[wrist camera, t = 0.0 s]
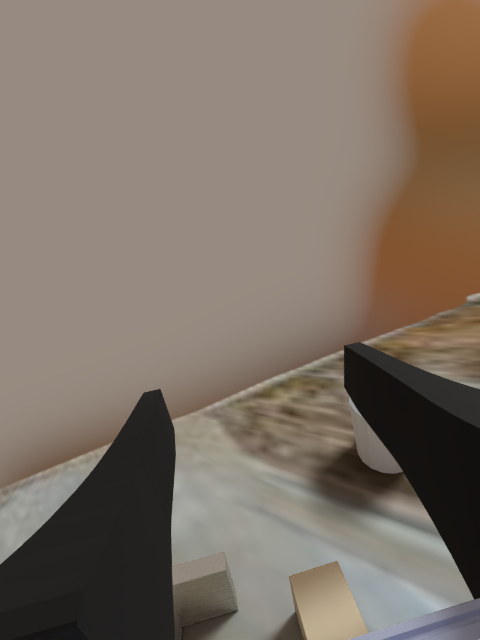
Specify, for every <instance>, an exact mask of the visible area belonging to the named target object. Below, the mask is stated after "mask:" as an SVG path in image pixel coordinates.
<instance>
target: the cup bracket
mask: <svg viewBox="0 0 480 640" xmlns="http://www.w3.org/2000/svg"><path fill="white" fill-rule="evenodd" d="M172 582H173V605H174V625H175V640H182V631H183V627H185V626H188V625H191V624H195V623H198V622H201V621H205V620H208V619H211V618H215V617H218V616H221V615H225V614H228V613H231V612H235V611H238V604H237V596H236V590H235V587H234V583H233V580H232V577H231V573H230V570H229V567H228V563H227V560H226V557H225V553H224V552H222V553H218V554H215V555H211V556H208V557H204V558H200V559H197V560H193V561H190V562H186V563H183V564H179V565H176V566H172Z"/></svg>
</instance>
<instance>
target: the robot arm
mask: <svg viewBox="0 0 480 640" xmlns="http://www.w3.org/2000/svg"><path fill="white" fill-rule="evenodd" d="M344 387H345V389H346V391H347V393H348V394H349V396H350V398H351V400H352V402H353V403H354V405H355V407H356V408H357V410H358V411H359V413H360V414H361V415H362V417H363V418H364V419H365V421H366V422H367V423H368V425H369V426H370V427H371V429H372V430H373V431H374V433H375V434H376V435H377V436H378V438H379V439H380V440H381V442H382V443H383V444H384V446H385V447H386V448H387V450H388V451H389V452H390V454H391V455H392V456H393V458H394V459H395V460H396V462H397V463H398V465H399V466H400V468H401V469H402V471H403V472H404V474H405V476H406V477H407V479H408V481H409V482H410V484H411V485H412V487H413V489H414V490H415V492H416V494H417V495H418V497H419V499H420V500H421V502H422V504H423V505H424V507H425V509H426V511H427V512H428V514H429V516H430V517H431V519H432V521H433V523H434V524H435V526H436V528H437V530H438V532H439V533H440V535H441V537H442V539H443V541H444V542H445V544H446V546H447V548H448V550H449V552H450V553H451V555H452V557H453V559H454V561H455V563H456V565H457V567H458V569H459V571H460V572H461V574H462V576H463V578H464V580H465V582H466V584H467V586H468V588H469V590H470V592H471V594H472V596H473V598H474V600H471V601H468V602H465V603H462V604H459V605H456V606H453V607H449V608H446V609H443V610H440V611H437V612H434V613H430V614H427V615H424V616H421V617H418V618H415V619H412V620H408V621H405V622H402V623H399V624H396V625H393V626H389V627H386V628H383V629H380V630H377V631H374V632H371V633H367V634H364V635H361V636H358V637H355V638H352V639H348V640H480V389H476V388H473V387H470V386H467V385H464V384H460V383H457V382H454V381H451V380H448V379H445V378H443V377H440V376H437V375H435V374H432V373H429V372H427V371H424V370H422V369H419V368H417V367H414V366H412V365H410V364H407V363H405V362H403V361H401V360H398V359H396V358H394V357H392V356H389V355H387V354H385V353H383V352H381V351H378V350H376V349H374V348H372V347H370V346H367V345H365V344H362V343H360V342H358V343H353V344H350V345H345V346H344ZM175 457H176V451H175V433H174V427H173V424H172V421H171V418H170V415H169V412H168V410H167V407H166V404H165V401H164V398H163V395H162V393H161V390H160V389H158V390H153V391H149V392H145V393H143V395H142V396H141V398H140V400H139V401H138V403H137V405H136V406H135V408H134V410H133V411H132V413H131V415H130V416H129V418H128V420H127V421H126V423H125V425H124V426H123V428H122V429H121V431H120V432H119V434H118V436H117V437H116V439H115V440H114V442H113V443H112V444H111V446H110V447H109V449H108V450H107V452H106V453H105V454H104V456H103V457H102V459H101V460H100V461H99V463H98V464H97V465H96V467H95V468H94V469H93V471H92V472H91V473H90V474H89V476H88V477H87V478H86V479H85V480H84V481H83V483H82V484H81V485H80V486H79V487H78V489H77V490H76V491H75V492H74V493H73V494H72V495H71V496H70V497H69V498H68V500H67V501H66V502H65V503H64V504H63V505H62V506H61V507H60V508H59V509H58V510H57V511H56V512H55V513H54V514H53V516H52V517H51V518H50V519H49V520H48V521H47V522H46V523H45V524H44V525H43V526H42V527H41V528H40V529H39V530H37V531H36V532H35V533H34V534H33V535H32V536H31V537H30V538H29V539H28V540H27V541H26V542H25V543H24V544H23V545H22V546H21V547H19V548H18V549H17V550H16V551H15V552H14V553H13V554H12V555H11V556H10V557H8V558H7V559H6V560H5V561H4V562H3V563H2V564H0V640H175V625H174V605H173V582H172V551H171V515H172V501H173V487H174V473H175Z"/></svg>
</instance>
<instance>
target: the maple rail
mask: <svg viewBox="0 0 480 640" xmlns="http://www.w3.org/2000/svg"><path fill="white" fill-rule="evenodd" d="M289 579H290V584H291V590H292V595H293V601H294V606H295V611H296V615H297V618H298V622H299V626H300V629H301V633H302V636H303V640H348V639H352V638H355V637H358V636H361V635H364V634H367V633H368V630H367V628H366V626H365V623H364V621H363V619H362V617H361V614H360V612H359V610H358V607H357V605H356V603H355V601H354V598H353V596H352V594H351V591H350V589H349V587H348V584H347V582H346V580H345V578H344V575H343V573H342V571H341V568H340V566H339V564H338V561H335V562H332V563H329V564H326V565H323V566H320V567H316V568H313V569H310V570H307V571H304V572H301V573H298V574H295V575H291V576H289Z"/></svg>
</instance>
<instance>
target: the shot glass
mask: <svg viewBox="0 0 480 640" xmlns="http://www.w3.org/2000/svg"><path fill="white" fill-rule="evenodd" d="M349 401H350V409H351V415H352V421H353V428H354V434H355V440H356V446H357V452H358V455H359V457H360V458H361V460H362V462H364V463H365V464H366V465H367V466H369V467H370V468H372V469H374V470H377V471H379V472H382V473H390V474H395V473H400V472H403V471H402V469H401V468H400V466H399V465H398V463H397V462H396V460H395V459H394V458H393V456H392V455H391V454H390V452H389V451H388V450H387V448H386V447H385V446H384V444H383V443H382V442H381V440H380V439H379V438H378V436H377V435H376V434H375V433H374V431H373V430H372V429H371V427H370V426H369V425H368V423H367V422H366V421H365V419H364V418H363V417H362V415H361V414H360V413H359V411H358V410H357V408H356V407H355V405H354V403H353V402H352V400H351V398H350V396H349Z"/></svg>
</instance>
